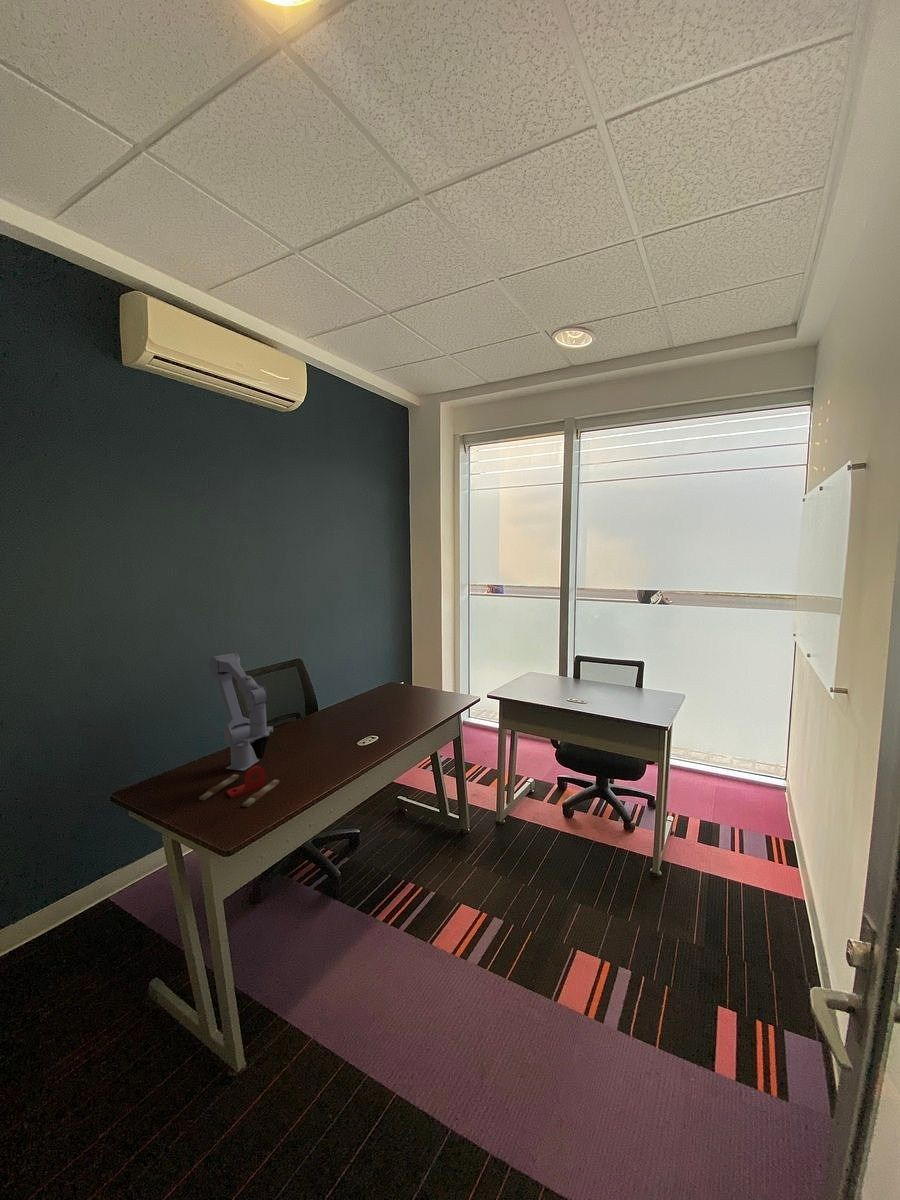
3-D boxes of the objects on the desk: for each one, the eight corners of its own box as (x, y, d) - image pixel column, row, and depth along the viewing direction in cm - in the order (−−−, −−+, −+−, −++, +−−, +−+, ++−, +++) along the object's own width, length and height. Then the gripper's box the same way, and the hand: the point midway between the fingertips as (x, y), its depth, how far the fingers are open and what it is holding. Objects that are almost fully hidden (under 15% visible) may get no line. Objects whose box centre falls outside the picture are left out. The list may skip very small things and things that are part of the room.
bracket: (259, 781, 175) (258, 760, 174) (265, 785, 172) (264, 764, 171) (225, 793, 167) (224, 771, 166) (231, 798, 163) (230, 775, 163)
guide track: (233, 776, 179) (233, 773, 179) (279, 782, 174) (279, 779, 174) (198, 799, 163) (198, 796, 162) (248, 807, 157) (248, 803, 157)
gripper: (254, 729, 169) (256, 767, 170) (279, 715, 182) (281, 750, 184) (237, 727, 170) (239, 764, 172) (263, 714, 184) (265, 748, 186)
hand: (259, 757), depth 178 cm, fingers closed
